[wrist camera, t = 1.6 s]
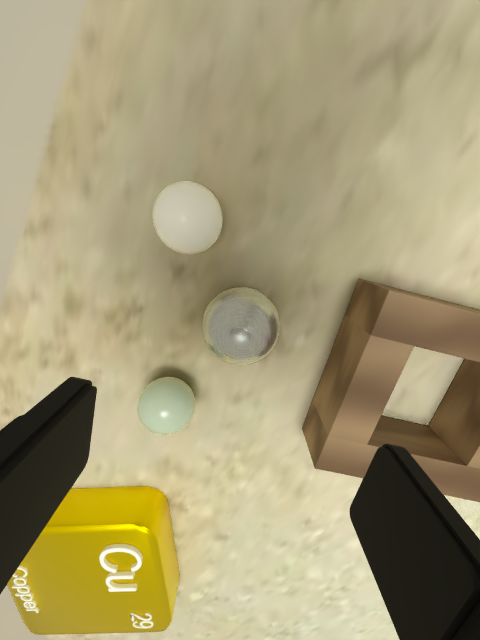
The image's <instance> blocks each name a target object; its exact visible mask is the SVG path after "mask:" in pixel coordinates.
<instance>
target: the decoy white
mask: <svg viewBox="0 0 480 640" xmlns="http://www.w3.org/2000/svg"><path fill="white" fill-rule="evenodd" d="M152 217H153V224H154V228H155V230H156V233H157V235H158V236H159V238H160V239H161V241H162V242H163V243H164V244H165V245H166V246H168V247H169V248H170V249H172V250H174V251H176V252H178V253H182V254H198V253H201V252H204V251H205V250H207V249H209V248H210V247H211V246H212V245H213V244H214V243H215V242H216V241H217V239H218V237H219V235H220V233H221V229H222V224H223V216H222V210H221V207H220V204H219V202H218V200H217V199H216V197H215V196H214V195H213V193H212V192H211V191H210V190H208V189H207V188H206V187H204V186H203V185H201V184H198V183H196V182H192V181H179V182H175V183H173V184H170V185H169V186H167V187H166V188H165V189H163V190H162V191H161V192H160V194H159V195H158V197H157V199H156V201H155V203H154V207H153V214H152Z"/></svg>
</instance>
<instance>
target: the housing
mask: <svg viewBox="0 0 480 640" xmlns="http://www.w3.org/2000/svg"><path fill="white" fill-rule="evenodd" d="M414 346H416V347H420V348H424V349H428V350H433V351H437V352H441V353H445V354H449V355H453V356H457V357H461V358H465V359H464V361H463V363H462V365H461V367H460V369H459V370H458V372H457V374H456V376H455V378H454V380H453V382H452V383H451V385H450V387H449V389H448V391H447V393H446V394H445V396H444V398H443V400H442V402H441V404H440V406H439V407H438V409H437V411H436V413H435V415H434V417H433V418H432V420H431V422H430V424H429V426H425V425H421V424H416V423H412V422H408V421H403V420H399V419H394V418H390V417H385V416H381V415H382V412H383V410H384V408H385V406H386V404H387V402H388V400H389V398H390V396H391V393H392V391H393V389H394V387H395V385H396V383H397V381H398V379H399V377H400V375H401V372H402V370H403V368H404V366H405V364H406V362H407V360H408V358H409V356H410V353H411V351H412V349H413V347H414ZM302 429H303V433H304V436H305V439H306V442H307V445H308V448H309V452H310V455H311V458H312V461H313V464H314V467H315V468H316V469H321V470H326V471H331V472H336V473H340V474H345V475H350V476H355V477H360V478H364V476H365V474H366V472H367V470H368V468H369V466H370V463H371V461H372V459H373V457H374V455H375V453H376V451H377V449H378V448H379V447H382V446H383V445H384V444H391V445H396V446H401V447H404V448H405V449H406V450H407V451H408V452H409V453H410V454H411V456H412V457H413V458H414V459H415V460H416V462H417V463H418V464H419V465H420V467H421V468H422V469H423V470H424V472H425V473H426V474H427V475H428V477H429V478H430V479H431V480H432V481H433V483H434V484H435V485H436V486H437V488H438V489H439V490H440V491H441V493H442V494H443V495H448V496H453V497H457V498H462V499H467V500H472V501H477V502H480V310H478V309H474V308H470V307H466V306H462V305H458V304H455V303H451V302H447V301H443V300H439V299H435V298H432V297H428V296H424V295H420V294H416V293H412V292H409V291H405V290H401V289H397V288H393V287H389V286H385V285H382V284H378V283H374V282H370V281H366V280H362V279H359V280H358V283H357V285H356V288H355V291H354V293H353V296H352V298H351V301H350V304H349V306H348V309H347V312H346V314H345V317H344V319H343V322H342V325H341V327H340V330H339V333H338V335H337V338H336V340H335V343H334V346H333V348H332V351H331V354H330V356H329V359H328V361H327V364H326V367H325V369H324V372H323V375H322V377H321V380H320V382H319V385H318V388H317V390H316V393H315V395H314V398H313V401H312V403H311V406H310V409H309V411H308V414H307V416H306V419H305V422H304V424H303V427H302Z"/></svg>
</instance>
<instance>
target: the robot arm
mask: <svg viewBox="0 0 480 640" xmlns="http://www.w3.org/2000/svg"><path fill="white" fill-rule="evenodd" d="M96 393H97V388H96V387H94V386H92V382H91V381H90V380H85V379H80V378H76V377H70V378H68V379H67V380H66V381H65V382H63V383H62V384H61V385H60V386H58V387H57V388H56V389H55V390H54V391H52V392H51V393H50V394H49V395H48V396H46V397H45V398H44V399H43V400H42V401H40V402H39V403H38V404H37V405H35V406H34V407H33V408H32V409H31V410H29V411H28V412H27V413H26V414H25V415H22V416H19V417H17V418H16V419H14V420H13V421H12V422H10V423H9V424H8V425H7V426H5V427H4V428H3V429H2V430H1V431H0V594H1V592H2V591H3V589H4V588H5V586H6V585H7V583H8V582H9V580H10V579H11V577H12V576H13V574H14V573H15V571H16V570H17V568H18V567H19V565H20V564H21V562H22V561H23V559H24V558H25V556H26V555H27V553H28V552H29V550H30V549H31V547H32V546H33V544H34V543H35V541H36V540H37V538H38V537H39V535H40V534H41V532H42V531H43V529H44V528H45V526H46V525H47V523H48V522H49V520H50V519H51V517H52V516H53V514H54V513H55V511H56V510H57V508H58V507H59V505H60V504H61V502H62V501H63V499H64V498H65V496H66V495H67V493H68V492H69V490H70V489H71V487H72V486H73V484H74V483H75V481H76V480H77V478H78V477H79V475H80V474H81V472H82V471H83V469H84V468H85V466H86V463H87V461H88V457H89V450H90V441H91V433H92V425H93V417H94V409H95V401H96ZM350 518H351V521H352V524H353V526H354V528H355V531H356V533H357V536H358V538H359V541H360V543H361V546H362V548H363V551H364V553H365V555H366V558H367V560H368V563H369V565H370V568H371V570H372V573H373V575H374V578H375V580H376V582H377V585H378V587H379V590H380V592H381V595H382V597H383V600H384V602H385V605H386V607H387V609H388V612H389V614H390V617H391V619H392V622H393V624H394V627H395V629H396V632H397V634H398V636H399V639H400V640H480V540H479V538H478V537H477V536H476V535H475V533H474V532H473V531H472V530H471V528H470V527H469V526H468V525H467V524H466V522H465V521H464V520H463V519H462V517H461V516H460V515H459V514H458V512H457V511H456V510H455V509H454V507H453V506H452V505H451V504H450V503H449V501H448V500H447V499H446V498H445V496H444V495H443V494H442V493H441V491H440V490H439V489H438V488H437V486H436V485H435V484H434V483H433V481H432V480H431V479H430V478H429V477H428V475H427V474H426V473H425V472H424V470H423V469H422V468H421V467H420V465H419V464H418V463H417V462H416V460H415V459H414V458H413V457H412V456H411V454H410V453H409V452H408V451H407V450H406V449H405V448H404V447H401V446H396V445H391V444H384V445H383V446H382V447H379V448H378V449H377V451H376V453H375V455H374V457H373V459H372V461H371V463H370V466H369V468H368V470H367V472H366V474H365V476H364V478H363V481H362V483H361V485H360V487H359V489H358V491H357V493H356V496H355V498H354V500H353V502H352V504H351V507H350Z"/></svg>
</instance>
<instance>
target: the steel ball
mask: <svg viewBox="0 0 480 640" xmlns="http://www.w3.org/2000/svg"><path fill="white" fill-rule="evenodd" d="M202 331H203V336H204V339H205V342H206V344H207V346H208V347H209V349H210V350H211V351H212V352H213V353H214V354H215V355H216V356H217V357H218V358H220V359H221V360H223V361H225V362H227V363H231V364H236V365H247V364H251V363H255V362H257V361H259V360H261V359H263V358H264V357H265V356H267V355H268V354H269V353H270V352H271V350H272V349H273V347H274V346H275V344H276V342H277V340H278V337H279V332H280V320H279V315H278V312H277V310H276V308H275V306H274V305H273V303H272V302H271V301H270V300H269V298H268V297H266V296H265V295H264V294H262V293H261V292H259V291H257V290H254V289H251V288H246V287H235V288H231V289H228V290H225V291H223V292H221V293H220V294H218V295H217V296H216V297H215V298H214V299H213V300H212V301H211V302H210V303H209V305H208V306H207V308H206V310H205V313H204V316H203V321H202Z"/></svg>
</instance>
